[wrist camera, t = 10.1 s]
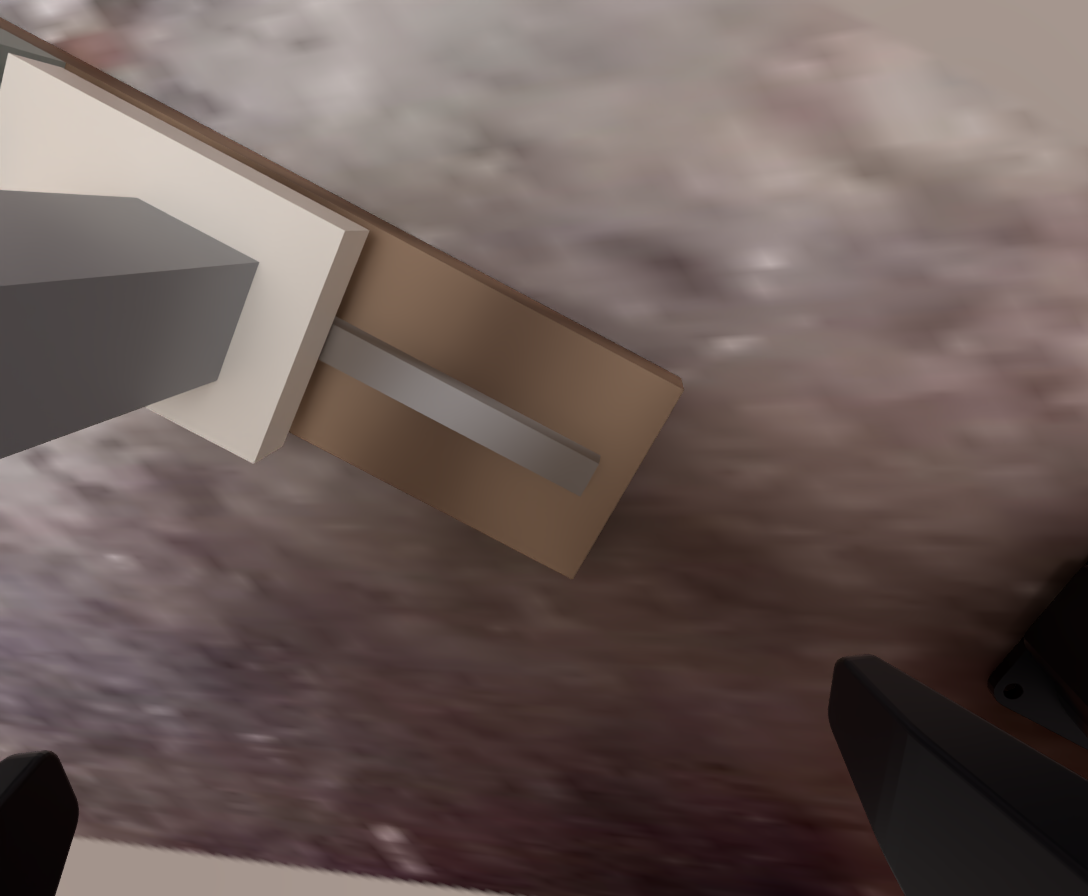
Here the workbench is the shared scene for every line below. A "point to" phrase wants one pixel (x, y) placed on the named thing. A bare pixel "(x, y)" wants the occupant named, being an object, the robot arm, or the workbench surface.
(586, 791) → the workbench surface
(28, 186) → the carriage
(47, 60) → the end housing
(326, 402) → the rail bed
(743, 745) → the workbench surface
